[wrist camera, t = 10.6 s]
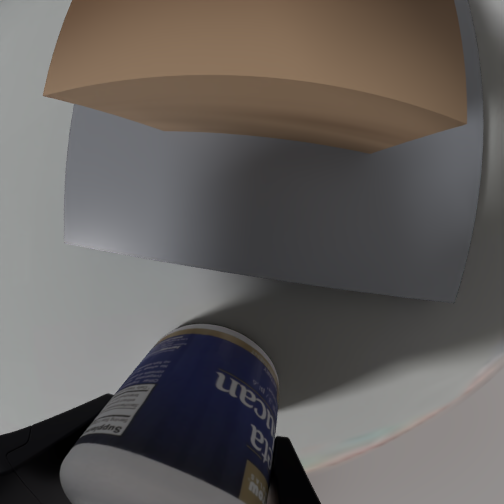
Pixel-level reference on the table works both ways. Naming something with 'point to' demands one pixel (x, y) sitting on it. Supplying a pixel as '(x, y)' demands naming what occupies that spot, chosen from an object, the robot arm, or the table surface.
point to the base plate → (283, 200)
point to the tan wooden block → (268, 67)
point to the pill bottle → (183, 427)
